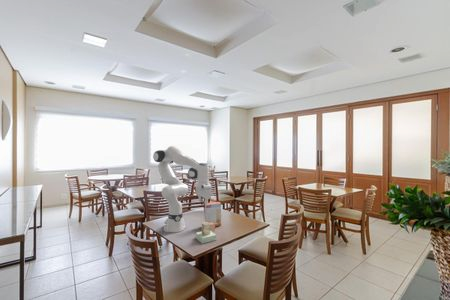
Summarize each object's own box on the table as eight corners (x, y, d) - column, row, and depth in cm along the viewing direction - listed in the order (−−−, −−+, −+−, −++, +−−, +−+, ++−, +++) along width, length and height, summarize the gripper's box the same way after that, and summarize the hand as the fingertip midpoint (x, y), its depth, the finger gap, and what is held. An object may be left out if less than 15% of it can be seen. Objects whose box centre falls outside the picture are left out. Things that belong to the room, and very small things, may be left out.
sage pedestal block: (195, 237, 170) (195, 232, 170) (209, 234, 176) (209, 229, 176) (202, 243, 160) (202, 238, 160) (216, 240, 166) (216, 234, 166)
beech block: (201, 233, 169) (201, 223, 169) (207, 232, 171) (207, 221, 171) (204, 235, 164) (204, 225, 164) (210, 234, 167) (210, 223, 167)
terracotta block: (206, 231, 182) (206, 223, 182) (210, 230, 186) (210, 221, 186) (210, 233, 179) (210, 224, 179) (214, 231, 183) (214, 223, 182)
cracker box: (219, 223, 201) (219, 201, 201) (221, 225, 196) (221, 203, 195) (204, 225, 196) (204, 202, 196) (206, 227, 191) (206, 204, 191)
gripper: (193, 182, 174) (193, 199, 175) (205, 187, 157) (204, 206, 157) (200, 182, 178) (200, 198, 178) (212, 186, 160) (212, 205, 161)
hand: (202, 202), depth 168 cm, fingers open, 8 cm apart
